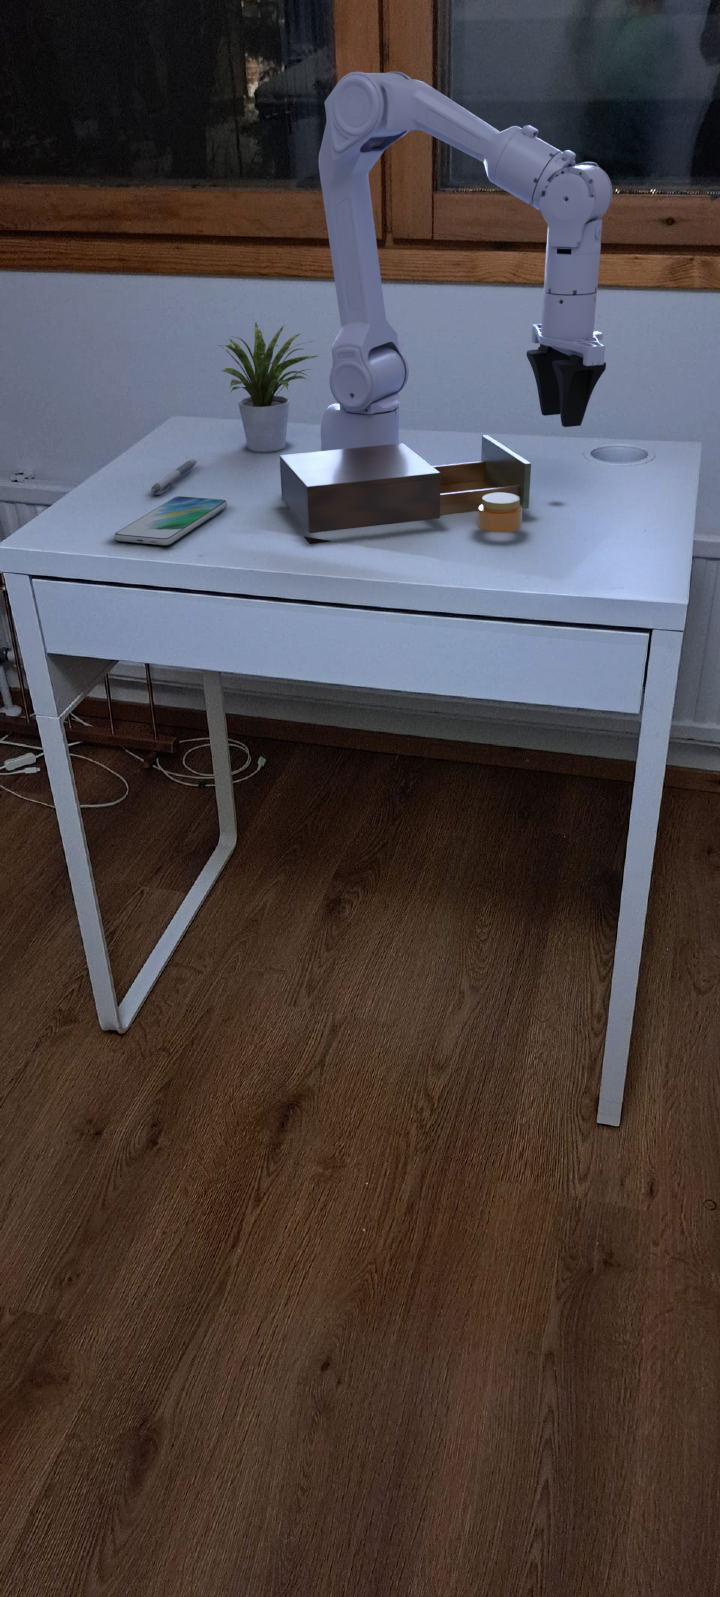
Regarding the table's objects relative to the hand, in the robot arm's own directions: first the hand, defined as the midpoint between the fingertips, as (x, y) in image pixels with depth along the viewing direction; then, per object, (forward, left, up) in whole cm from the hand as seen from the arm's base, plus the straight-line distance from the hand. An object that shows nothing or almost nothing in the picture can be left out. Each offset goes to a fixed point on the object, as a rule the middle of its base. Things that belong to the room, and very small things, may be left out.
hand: (561, 420), depth 132 cm
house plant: (-45, +6, -10) cm, 47 cm away
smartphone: (-37, -26, -10) cm, 46 cm away
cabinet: (-19, -14, -10) cm, 26 cm away
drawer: (-11, -6, -10) cm, 16 cm away
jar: (-2, -13, -10) cm, 16 cm away
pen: (-47, -12, -10) cm, 49 cm away
